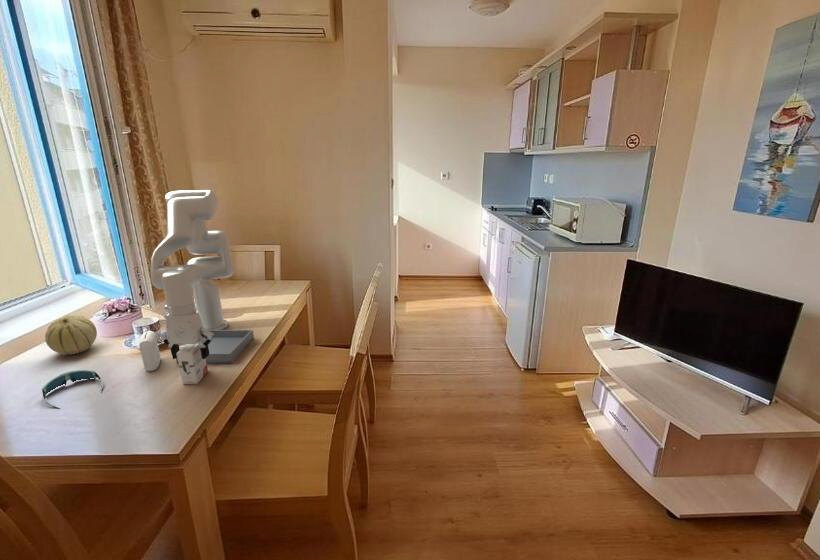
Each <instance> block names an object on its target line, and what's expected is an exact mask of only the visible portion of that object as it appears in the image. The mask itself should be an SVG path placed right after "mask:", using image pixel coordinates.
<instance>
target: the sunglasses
mask: <svg viewBox="0 0 820 560" xmlns="http://www.w3.org/2000/svg"><path fill="white" fill-rule="evenodd" d="M90 378H94V379H95V380H97V379H98V381H99V382H100V383H101V388H100V391H103V390H104V381H103V379H102V378H101V377H100V376H99V374H98V373H97V372H96V371H95V370H92V369H75V370H69V371H67V372H63V373H61V374H59V375H57V376H55V377H53V378H52V379H50V380H49V381H47V382H46V383H45V384H44V385H43V387H42V388H41V392H42V399H44V402H45V403H46V404H47V405H48V406H50V407H51V406H54V407H56V406H57V405H54V404H52V403H50V401H48V397H47V396H45V395H46V394H47V393H48V392H50V391H51V390H53V389H55V388H56V387H58V386H61V385H63V384H65V385H66V386H67V382H68V381H71V382H72V383H73V382H74V381H76V380H81V379H90ZM96 378H97V379H96ZM102 389H103V390H102ZM54 407H53V408H54Z"/></svg>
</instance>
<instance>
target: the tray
mask: <svg viewBox="0 0 820 560" xmlns="http://www.w3.org/2000/svg"><path fill="white" fill-rule="evenodd" d="M207 331H210V332H212V333H214V336H213V339H212V341H211V342H210V343H209V344H208V348H209V355H208V356H207V357H206V364H207V365H209V364H213V365H218V364H219V365H223V364H224V365H232V364H233V363H234V362H235V361H236V360H237V359H238V357H239V356H240V355H241V354H242V353H243V352H244V351H245V350H246V348H247V347H248V346H249V345H250V344H251V343H252V342H253V341H254V340H255V336H254V329H222V330H207ZM204 338H205V339H206V340H207V338H208V337H207V336H205V337H204ZM175 360H176V364H179V363H178V359H177V358H176V359H175Z"/></svg>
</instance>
